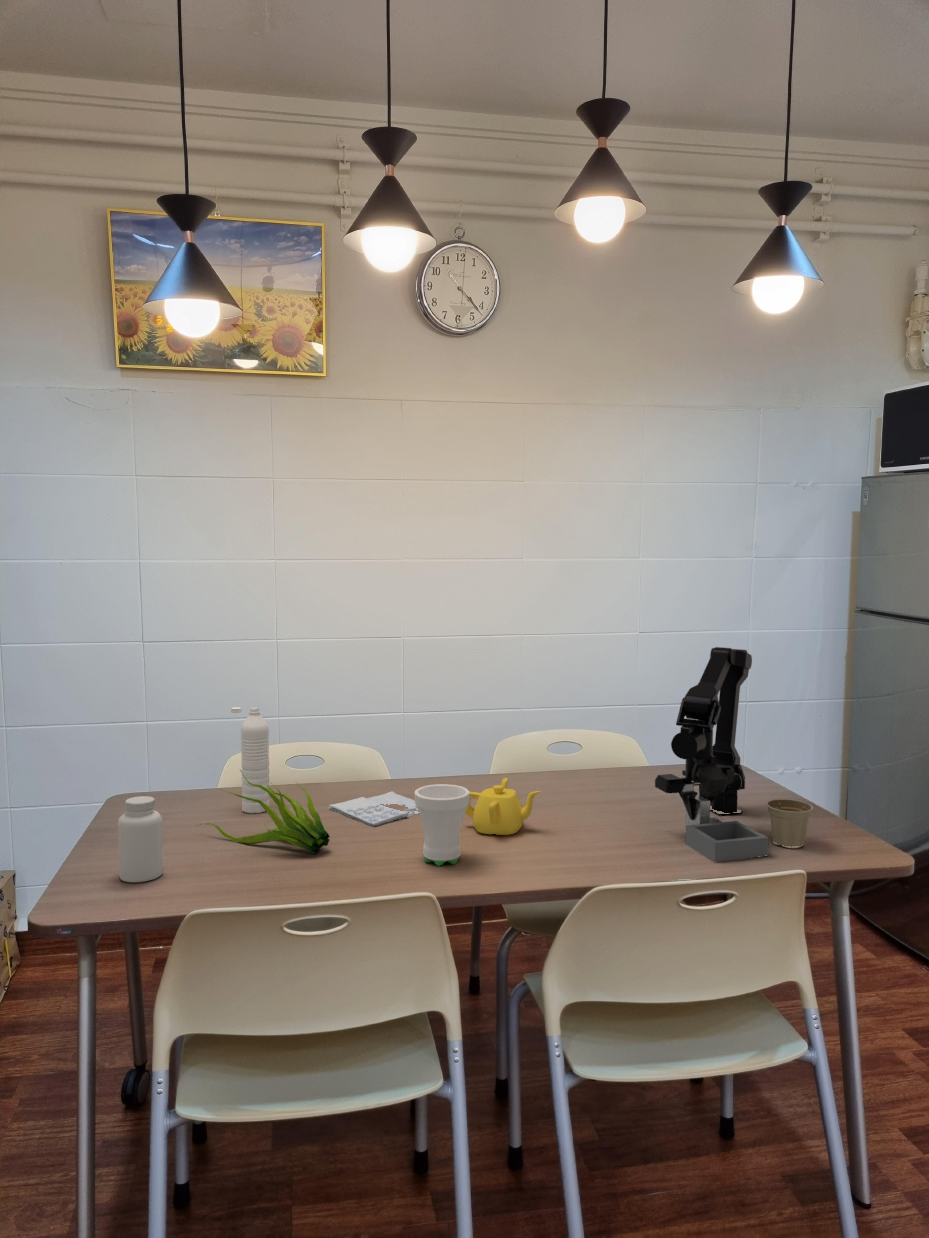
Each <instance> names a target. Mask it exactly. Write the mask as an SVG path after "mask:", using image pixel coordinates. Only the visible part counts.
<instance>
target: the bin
mask: <svg viewBox="0 0 929 1238" xmlns="http://www.w3.org/2000/svg"><path fill="white" fill-rule="evenodd" d="M685 843H686V844H687V845H686V844H685V845H686V846H688V845H689V846H688V847H690V846H691V847H692V848H691V847H690V848H691V849H693V850H694V849H695V850H694V851H696V852H697V851H698V852H697V853H699V854H700V855H702V856H704V857H706V858H708V859H709V860H710V861H711V862H713V863H719V862H727V861H729V862H730V861H739V860H740V861H741V860H747V859H746V858H749V859H752V858H751V857H758V856H765V855H768V854H769V836H766V835H765V834H762V833H760V832H758V831H757V830H755V829H752V828H751V827H749V826H747V825H745V824H743V823H741V822H739V821H738V820H733V821H722V822H720V823H709V824H698V825H688V826H686V829H685ZM768 856H769V855H768ZM758 858H759V857H758Z"/></svg>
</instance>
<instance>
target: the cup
mask: <svg viewBox="0 0 929 1238" xmlns="http://www.w3.org/2000/svg"><path fill="white" fill-rule="evenodd" d="M469 791H470V790H469V789H467V788H466V787H464V786H461V785H456V784H446V783H445V784H443V783H440V784H439V783H437V784H427V785H423V786H421V787H419V788H417V789H415V791H414V800H415V805H416V806H417V808H418V810H419V813H420V814H419V815H420V819H421V822H422V828H423V837H424V838H423V839H424V843H423V846H422V851H423V852H422V853H423V854H422V855H423V859H424V862H425V863H432V862H434V864H435V866H438V867H440V865H441V866H442V865H444V863H446V862H447V863H449V864H451V865H455V864H456V863H457V862H458V860H459V859H460V856H461V853H462V850H461V849H462V847H461V846H462V845H461V843H460V837H461V836H460V834H461V829H462V823H463V820H464V816H465V814H466V813H465V811H466V808H467V807H468V805H469V796H470V792H471V791H470V792H469Z"/></svg>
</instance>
